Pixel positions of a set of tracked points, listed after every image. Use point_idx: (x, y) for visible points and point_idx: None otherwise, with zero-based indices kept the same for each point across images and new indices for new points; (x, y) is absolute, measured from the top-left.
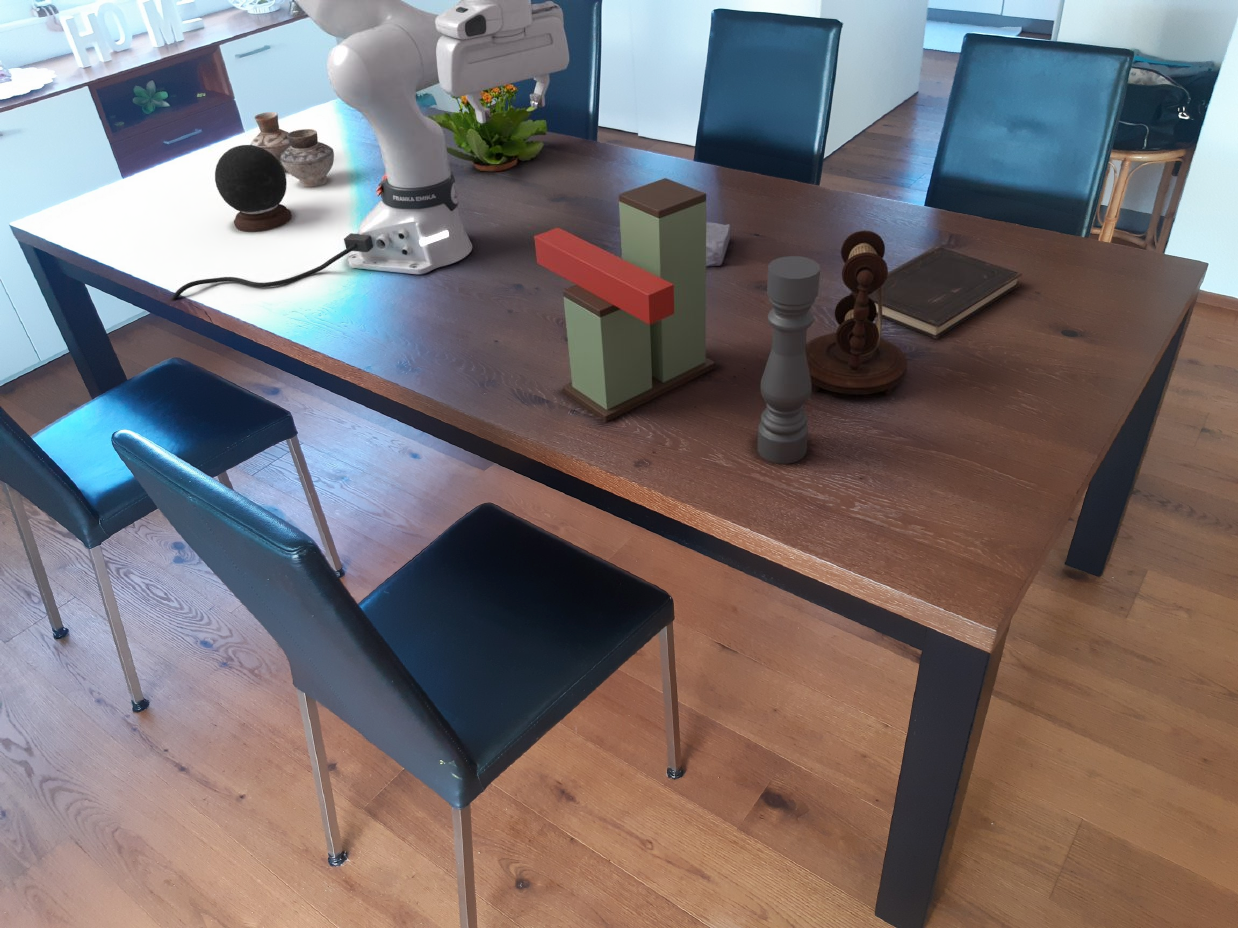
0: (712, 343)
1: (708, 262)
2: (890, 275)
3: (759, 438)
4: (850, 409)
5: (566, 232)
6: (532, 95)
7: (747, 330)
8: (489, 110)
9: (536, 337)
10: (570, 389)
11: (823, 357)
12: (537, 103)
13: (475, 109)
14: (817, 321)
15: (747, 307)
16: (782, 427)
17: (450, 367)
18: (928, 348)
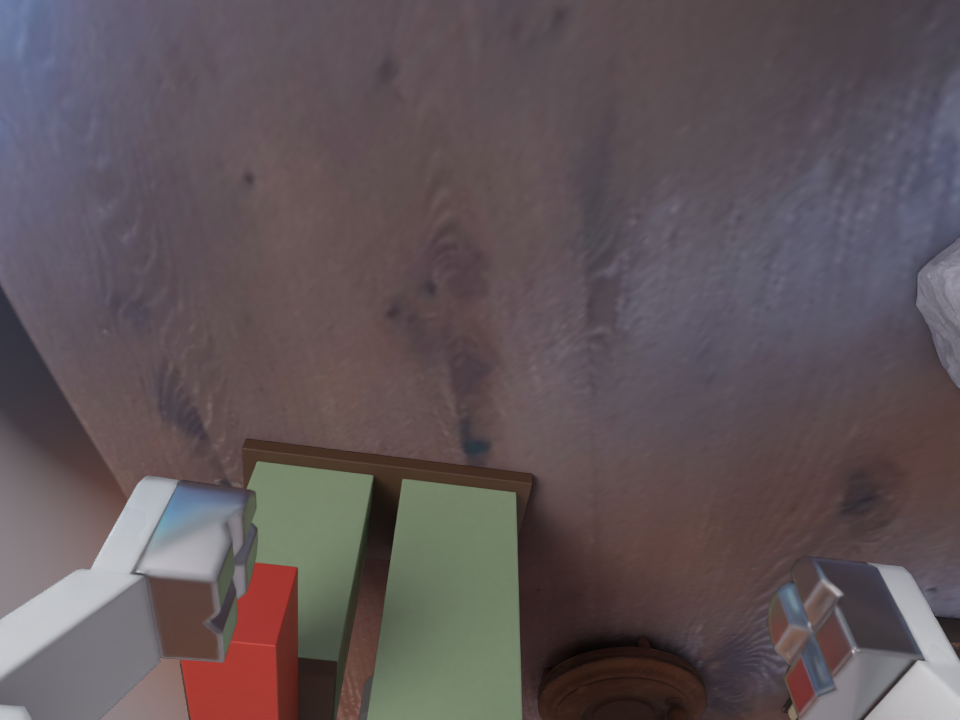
0: (581, 523)
1: (939, 350)
2: (957, 650)
3: (364, 703)
4: (534, 703)
5: (273, 676)
6: (835, 683)
7: (662, 540)
8: (217, 655)
9: (344, 248)
10: (248, 463)
11: (585, 701)
12: (787, 658)
13: (93, 571)
14: (759, 598)
15: (754, 501)
16: None
17: (78, 184)
18: (749, 709)
